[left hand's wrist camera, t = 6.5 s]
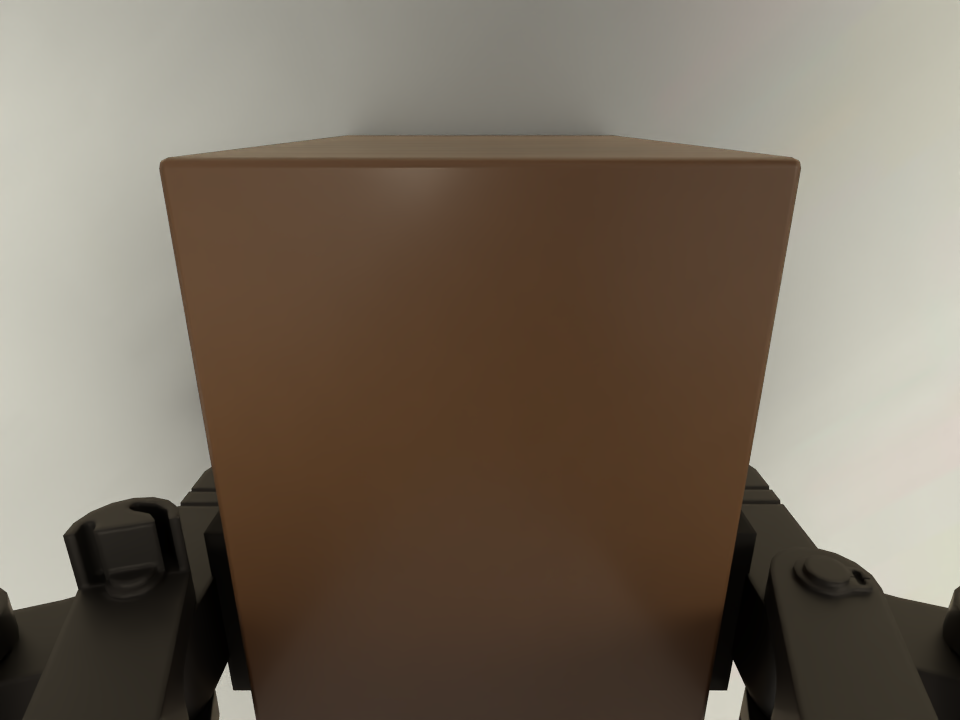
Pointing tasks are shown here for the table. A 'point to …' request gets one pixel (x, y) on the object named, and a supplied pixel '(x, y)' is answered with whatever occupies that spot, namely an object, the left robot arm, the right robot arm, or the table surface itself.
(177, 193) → the beam
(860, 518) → the table surface
